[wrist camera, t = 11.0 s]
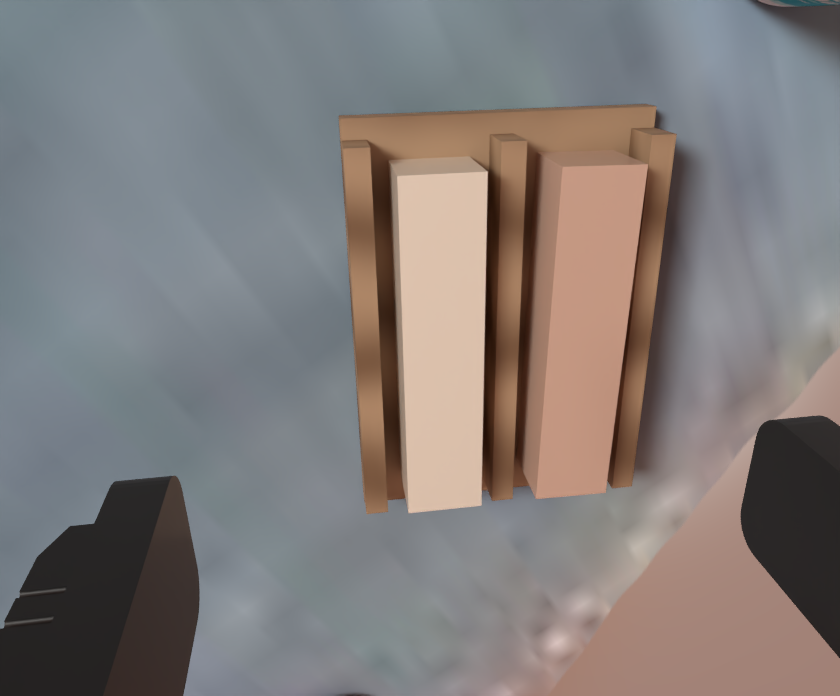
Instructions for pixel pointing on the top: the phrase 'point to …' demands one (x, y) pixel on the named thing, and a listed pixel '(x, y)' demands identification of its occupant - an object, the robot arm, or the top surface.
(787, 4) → the pill bottle
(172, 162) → the top surface
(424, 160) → the strip
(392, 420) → the rack
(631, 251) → the clay strip
